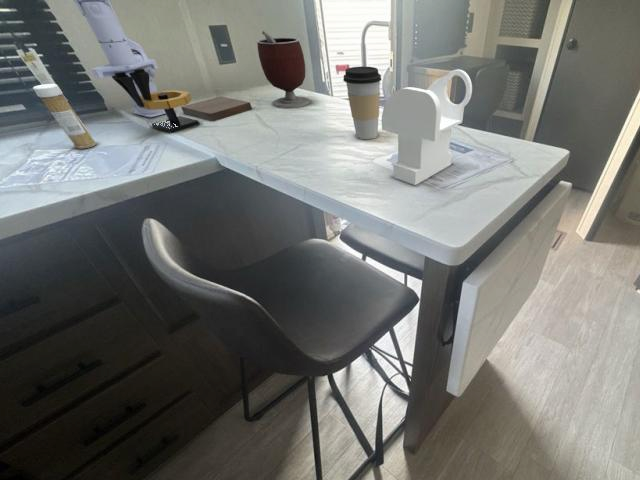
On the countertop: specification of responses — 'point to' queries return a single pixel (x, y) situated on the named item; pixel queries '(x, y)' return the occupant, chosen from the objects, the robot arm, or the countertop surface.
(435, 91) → the tape dispenser
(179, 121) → the peg stand
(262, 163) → the countertop surface
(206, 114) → the coaster
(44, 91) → the sprinkles bottle
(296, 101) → the mate gourd
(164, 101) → the orange ring
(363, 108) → the coffee cup
